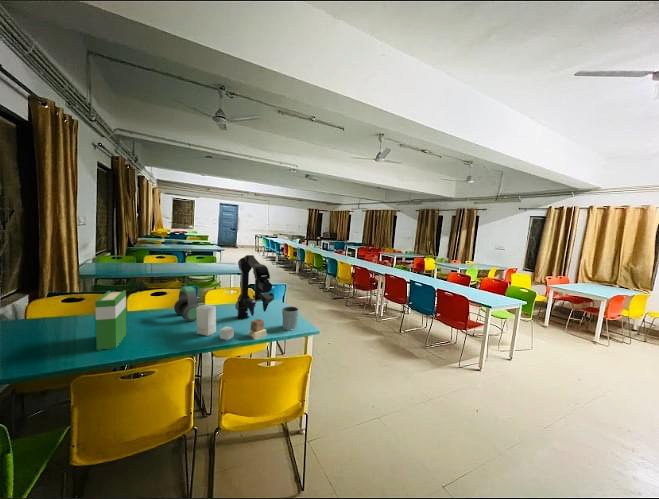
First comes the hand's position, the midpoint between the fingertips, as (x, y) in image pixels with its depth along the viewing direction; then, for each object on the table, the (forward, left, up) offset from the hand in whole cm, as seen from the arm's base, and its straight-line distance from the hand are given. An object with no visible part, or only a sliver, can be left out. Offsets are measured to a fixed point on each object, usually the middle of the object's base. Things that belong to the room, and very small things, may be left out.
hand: (258, 313), depth 157 cm
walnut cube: (+3, -3, -8) cm, 9 cm away
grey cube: (-8, -15, -12) cm, 21 cm away
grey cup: (+9, +18, -12) cm, 23 cm away
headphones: (-50, -13, -12) cm, 53 cm away
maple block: (+3, -3, -12) cm, 13 cm away
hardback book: (-46, -54, -12) cm, 72 cm away
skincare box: (-21, -19, -12) cm, 31 cm away
